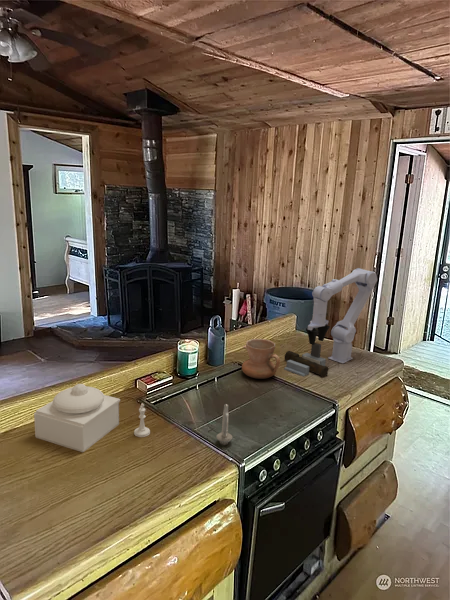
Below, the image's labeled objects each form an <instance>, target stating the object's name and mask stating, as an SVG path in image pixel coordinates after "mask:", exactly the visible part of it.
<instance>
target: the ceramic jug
mask: <svg viewBox="0 0 450 600" xmlns="http://www.w3.org/2000/svg"><path fill="white" fill-rule="evenodd" d="M242 348H243V349H245V350H247V354H248V359H246V360H245V361H243V363H242V365H241V370H242V372H243V374H244V375H246V376H247V377H250V378H253V379H257V380H258V379H260V380H262V379H269V378H271V377H273V376H275V375H276V373H277V370H278V368H279V367H280V364H281V359H280V357H279V355H277V354H276V353H275V349H276V343H275V342H274V341H272V340H269V339H264V338H252V339H248V340H247V341H245V345H243V346H242ZM274 353H275V354H274ZM272 358H275V360H276V362H275V363H276V364H275V363H274V362H272V361H271V359H272Z"/></svg>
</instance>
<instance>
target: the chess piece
mask: <svg viewBox="0 0 450 600" xmlns="http://www.w3.org/2000/svg"><path fill="white" fill-rule="evenodd" d="M138 412H139V415H138V418H139V420H140V421H139V426H138V427H137V428H135V429H134V431H133V434H134V436H136V437H138V438H145V437H148V436H149V435H150V434H151V430H150V428H149V427H146V425H145V418H146V417H147V416H146V415H145V412H146V408H145V403H141V405H140V406H139V408H138Z"/></svg>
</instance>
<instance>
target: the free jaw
mask: <svg viewBox="0 0 450 600" xmlns="http://www.w3.org/2000/svg"><path fill="white" fill-rule="evenodd" d="M321 351H322V344H320V343H317V342H315V344H314V345H312V344H311V348H310V353H308V352H305V353H303V354H302V355H301V357H302V358H304V359H307V360H309V361H312V362H316V363H318V364H320V365H322V366H326V360H327V359H326V358H325V357H321Z"/></svg>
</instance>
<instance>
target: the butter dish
mask: <svg viewBox="0 0 450 600" xmlns="http://www.w3.org/2000/svg"><path fill="white" fill-rule="evenodd" d="M120 402H121V398H118V397H114V396H111V395H105V394H104V393H103V391H101V389H99V388H96V387H94V386H86V385H85V384H84V383H77V384H75V385H73V386H72V387H68V388H66V389H64V390H61V391H60V392H58V393H56V395H55V396H54V397H53V399H52V401H50V402H48V403H47V404H45V405H43V406H42V407H40V408H38V409H36V410H35V412H34V413H33V415H34V433H35V434H34V436H35V438H36V439H39V440H42V441H46V442H49V443H52V444H55V445H58V446H61V447H64V448H68V449H71V450H74V451H78V452H81V453H84V452H85V451H87V450H88V449H89V448H91V447H92V446H93V445H95V443H97V442H98V441H99V440H101V439H103V437H105V436H106V435H108V434H109V433H110V432H111V431H112V430H114V429H115V428H116V427H118V426H119V425H120Z"/></svg>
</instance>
